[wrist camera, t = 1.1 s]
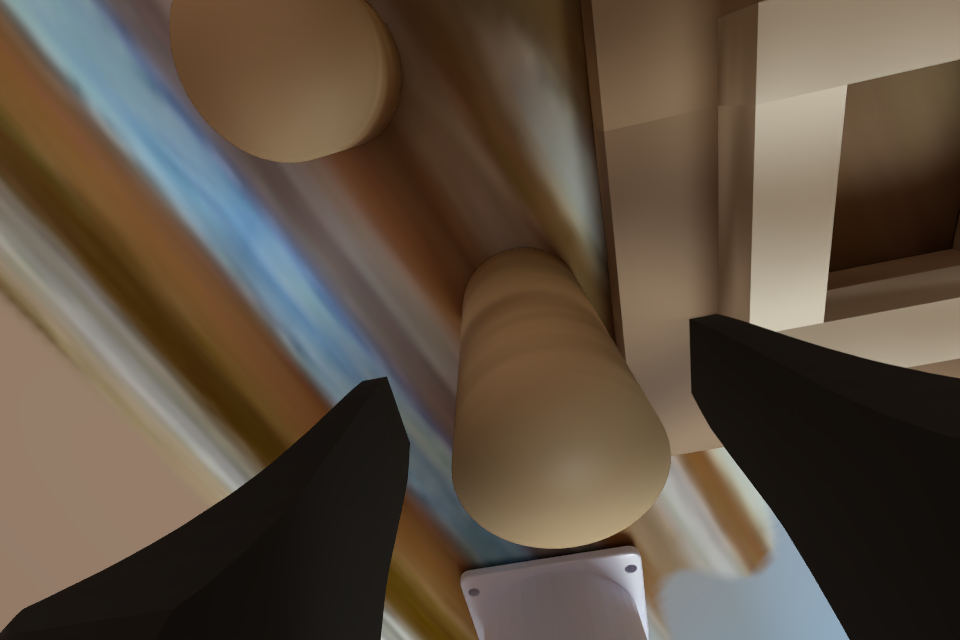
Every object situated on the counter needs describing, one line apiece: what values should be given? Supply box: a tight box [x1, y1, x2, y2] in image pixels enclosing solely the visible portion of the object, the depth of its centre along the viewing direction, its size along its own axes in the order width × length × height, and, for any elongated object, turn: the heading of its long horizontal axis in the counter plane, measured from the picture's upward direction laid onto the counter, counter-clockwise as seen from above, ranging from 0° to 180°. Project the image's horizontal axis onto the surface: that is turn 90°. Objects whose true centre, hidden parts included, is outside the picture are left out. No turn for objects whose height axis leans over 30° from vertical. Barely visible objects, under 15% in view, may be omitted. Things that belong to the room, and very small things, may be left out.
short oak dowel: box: [169, 0, 402, 163], centre depth 11 cm, size 4×4×4 cm
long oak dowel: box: [452, 248, 671, 549], centre depth 12 cm, size 4×4×8 cm
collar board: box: [580, 0, 960, 456], centre depth 13 cm, size 17×16×3 cm
